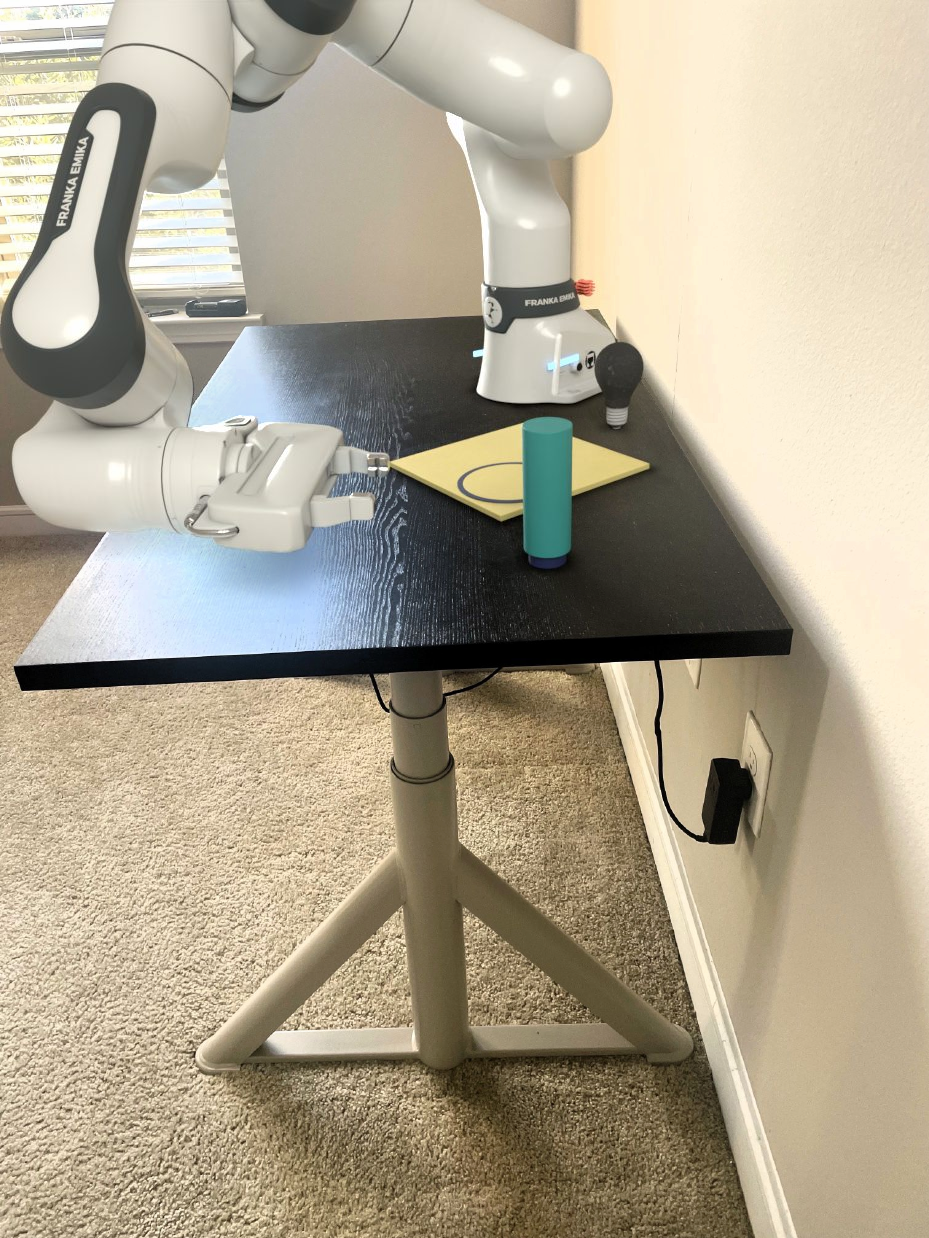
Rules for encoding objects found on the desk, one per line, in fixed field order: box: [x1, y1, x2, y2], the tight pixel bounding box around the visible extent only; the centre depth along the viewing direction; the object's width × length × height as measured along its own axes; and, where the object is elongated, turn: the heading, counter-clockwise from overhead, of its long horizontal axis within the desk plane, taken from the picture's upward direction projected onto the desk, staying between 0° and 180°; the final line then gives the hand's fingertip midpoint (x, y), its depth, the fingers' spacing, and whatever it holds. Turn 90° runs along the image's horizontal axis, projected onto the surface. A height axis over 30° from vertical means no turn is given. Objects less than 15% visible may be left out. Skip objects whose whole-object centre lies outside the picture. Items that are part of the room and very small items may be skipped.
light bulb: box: [594, 341, 644, 430], centre depth 100 cm, size 6×6×10 cm
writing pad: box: [390, 422, 650, 522], centre depth 93 cm, size 20×20×1 cm
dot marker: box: [522, 416, 574, 570], centre depth 71 cm, size 4×4×12 cm
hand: (382, 484), depth 71 cm, fingers open, 8 cm apart
